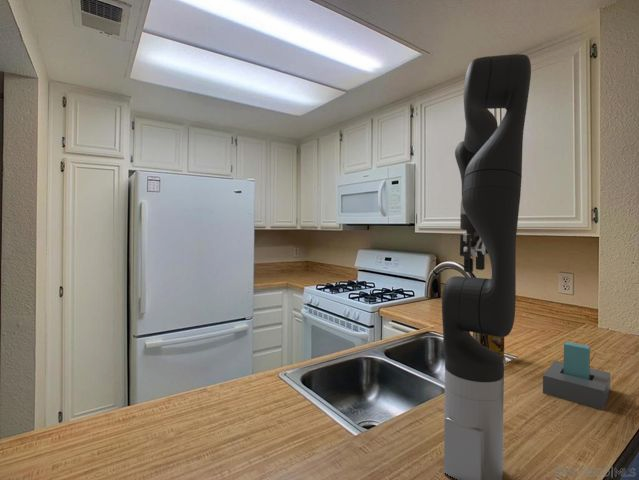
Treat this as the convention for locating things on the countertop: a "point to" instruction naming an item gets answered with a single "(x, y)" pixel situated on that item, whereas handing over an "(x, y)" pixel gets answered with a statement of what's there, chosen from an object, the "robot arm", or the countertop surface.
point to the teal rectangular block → (577, 360)
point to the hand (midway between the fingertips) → (474, 270)
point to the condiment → (497, 345)
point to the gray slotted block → (577, 386)
